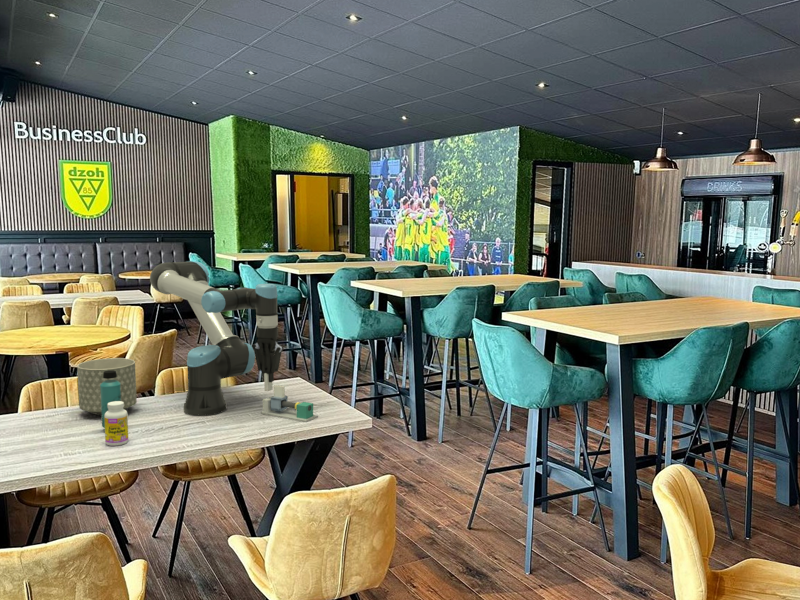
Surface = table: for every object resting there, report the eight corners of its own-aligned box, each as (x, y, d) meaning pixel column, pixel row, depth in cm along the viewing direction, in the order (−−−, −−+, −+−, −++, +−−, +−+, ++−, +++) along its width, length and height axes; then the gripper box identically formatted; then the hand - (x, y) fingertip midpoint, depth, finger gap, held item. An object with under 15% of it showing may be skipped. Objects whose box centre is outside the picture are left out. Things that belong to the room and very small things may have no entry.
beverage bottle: (102, 434, 213) (99, 374, 210) (101, 428, 219) (98, 369, 216) (123, 431, 216) (121, 372, 213) (122, 425, 222) (119, 368, 219)
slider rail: (261, 413, 237) (260, 399, 236) (273, 409, 243) (273, 395, 242) (306, 422, 227) (305, 407, 227) (317, 417, 233) (317, 402, 233)
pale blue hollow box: (270, 409, 236) (270, 386, 235) (278, 406, 240) (278, 384, 239) (279, 411, 234) (279, 388, 233) (287, 408, 238) (287, 385, 237)
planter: (138, 403, 249) (136, 356, 247) (135, 417, 231) (133, 367, 229) (83, 407, 243) (81, 359, 241) (75, 422, 225) (73, 370, 223)
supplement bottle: (105, 447, 200) (103, 406, 199) (105, 440, 206) (103, 401, 205) (128, 444, 203) (127, 404, 201) (128, 438, 209) (126, 399, 207)
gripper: (246, 326, 236) (247, 390, 238) (274, 329, 229) (276, 394, 232) (260, 324, 242) (261, 386, 245) (288, 326, 236) (289, 390, 239)
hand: (268, 390), depth 238 cm, fingers closed
